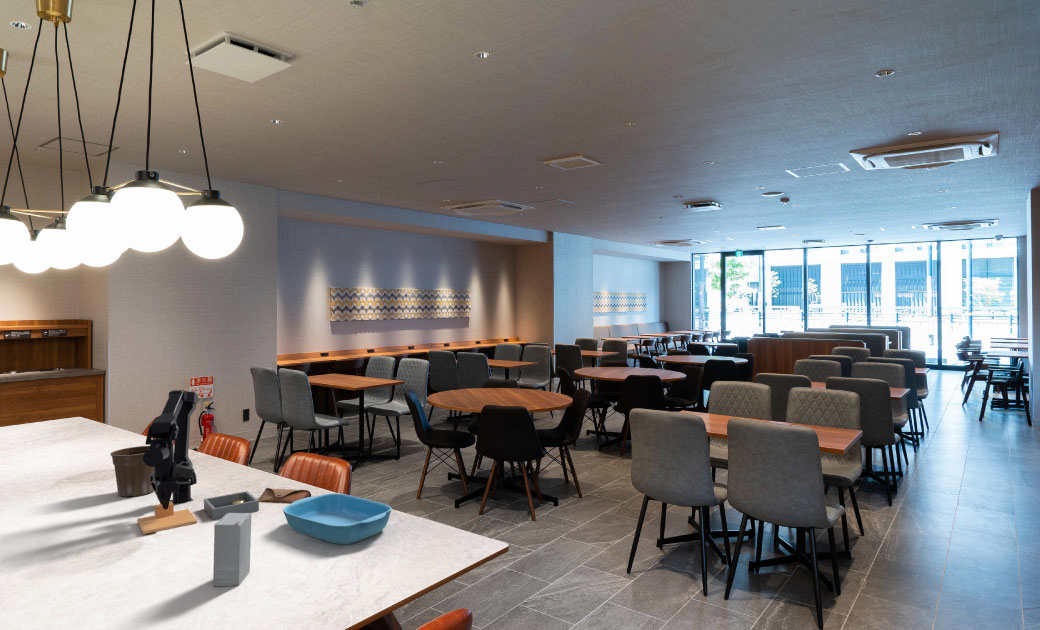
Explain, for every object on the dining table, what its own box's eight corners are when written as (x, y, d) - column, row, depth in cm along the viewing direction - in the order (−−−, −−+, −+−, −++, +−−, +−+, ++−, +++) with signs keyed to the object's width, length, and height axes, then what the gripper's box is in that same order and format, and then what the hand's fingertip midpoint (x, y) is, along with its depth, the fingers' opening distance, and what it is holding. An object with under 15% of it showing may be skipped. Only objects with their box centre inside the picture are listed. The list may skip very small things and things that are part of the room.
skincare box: (225, 573, 156) (224, 512, 156) (253, 572, 157) (253, 511, 157) (211, 588, 148) (210, 523, 147) (241, 586, 148) (240, 522, 148)
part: (230, 505, 209) (230, 500, 209) (243, 503, 212) (243, 498, 212) (233, 508, 206) (233, 503, 206) (245, 506, 208) (245, 501, 208)
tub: (203, 510, 206) (203, 499, 206) (247, 502, 214) (247, 491, 214) (213, 521, 195) (213, 509, 195) (258, 512, 204) (258, 500, 204)
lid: (137, 524, 194) (136, 508, 194) (188, 514, 203) (187, 498, 203) (143, 537, 183) (143, 519, 183) (197, 526, 192) (196, 509, 192)
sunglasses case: (252, 503, 213) (257, 484, 216) (261, 508, 219) (266, 489, 222) (300, 505, 210) (304, 486, 213) (308, 510, 216) (313, 491, 219)
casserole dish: (269, 529, 188) (269, 506, 188) (329, 509, 207) (328, 488, 207) (347, 555, 167) (347, 529, 167) (405, 530, 186) (405, 507, 186)
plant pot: (100, 496, 223) (100, 453, 223) (142, 484, 238) (141, 444, 238) (130, 501, 217) (130, 456, 217) (171, 489, 232) (171, 447, 232)
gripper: (197, 460, 195) (197, 508, 195) (185, 450, 209) (186, 495, 209) (157, 466, 188) (157, 516, 188) (148, 455, 202) (149, 501, 202)
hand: (164, 506), depth 197 cm, fingers open, 6 cm apart
